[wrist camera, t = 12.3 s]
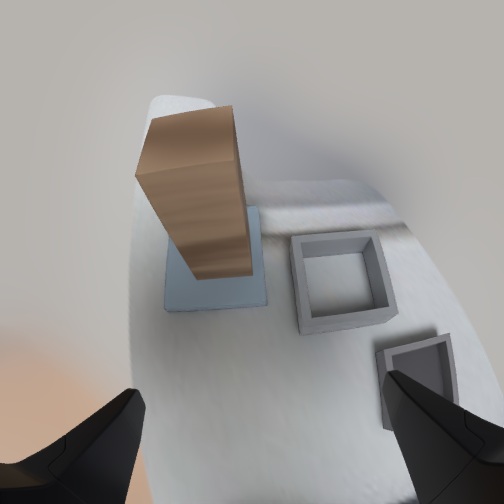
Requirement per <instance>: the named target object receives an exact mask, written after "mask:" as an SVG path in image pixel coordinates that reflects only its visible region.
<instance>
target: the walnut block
mask: <svg viewBox="0 0 504 504" xmlns="http://www.w3.org/2000/svg"><path fill="white" fill-rule="evenodd" d="M135 177H136V178H137V180H138V182H139V184H140V186H141V187H142V189H143V191H144V193H145V195H146V196H147V198H148V200H149V202H150V204H151V205H152V207H153V209H154V211H155V212H156V214H157V216H158V217H159V219H160V221H161V223H162V224H163V226H164V228H165V229H166V231H167V233H168V234H169V236H170V238H171V239H172V241H173V243H174V244H175V246H176V248H177V249H178V251H179V253H180V254H181V256H182V257H183V259H184V261H185V262H186V264H187V265H188V267H189V269H190V270H191V272H192V273H193V275H194V276H195V278H196V280H208V279H220V278H232V277H243V276H253V268H252V254H251V241H250V228H249V221H248V214H247V207H246V200H245V193H244V186H243V179H242V172H241V165H240V158H239V151H238V145H237V137H236V130H235V123H234V116H233V109H232V106H223V107H216V108H209V109H202V110H196V111H190V112H184V113H179V114H174V115H169V116H164V117H159V118H155V119H152V121H151V124H150V127H149V130H148V133H147V136H146V139H145V142H144V146H143V149H142V152H141V156H140V159H139V163H138V166H137V170H136V174H135Z"/></svg>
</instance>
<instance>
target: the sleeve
mask: <svg viewBox="0 0 504 504" xmlns="http://www.w3.org/2000/svg"><path fill="white" fill-rule="evenodd" d="M361 252H363V256H364V260H365V264H366V268H367V272H368V276H369V280H370V285H371V289H372V294H373V298H374V303H375V308H376V309H372V310H366V311H359V312H352V313H345V314H338V315H331V316H323V317H315V318H312V316H311V308H310V301H309V294H308V287H307V280H306V274H305V267H304V261H303V258H309V257H319V256H330V255H341V254H351V253H361ZM290 260H291V267H292V274H293V282H294V290H295V298H296V306H297V314H298V323H299V332H300V335H308V334H316V333H324V332H331V331H339V330H345V329H352V328H358V327H364V326H370V325H376V324H381V323H386V322H387V321H389V320H390V319H391V318H393V317H394V316H396V315H397V314H398V309H397V304H396V300H395V295H394V291H393V287H392V283H391V279H390V275H389V271H388V268H387V264H386V260H385V257H384V253H383V250H382V246H381V243H380V240H379V236H378V233H377V230H376V229H373V230H360V231H347V232H334V233H322V234H310V235H298V236H291V243H290Z"/></svg>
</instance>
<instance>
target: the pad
mask: <svg viewBox="0 0 504 504" xmlns="http://www.w3.org/2000/svg"><path fill="white" fill-rule="evenodd" d="M247 214H248V221H249V228H250V241H251V254H252V268H253V276H243V277H232V278H220V279H208V280H196V278H195V276H194V275H193V273H192V272H191V270H190V269H189V267H188V265H187V264H186V262H185V261H184V259H183V257H182V256H181V254H180V253H179V251H178V249H177V248H176V246H175V244H174V243H173V241H172V239H171V238H170V236H169V243H168V254H167V267H166V281H165V298H164V309H165V310H167V311H168V312H169V311H192V310H211V309H227V308H241V307H254V306H266V305H267V299H266V288H265V276H264V265H263V254H262V243H261V232H260V221H259V211H258V206H249V207H247Z"/></svg>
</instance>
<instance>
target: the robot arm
mask: <svg viewBox="0 0 504 504" xmlns="http://www.w3.org/2000/svg"><path fill="white" fill-rule="evenodd" d="M382 393H383V397H384V401H385V404H386V408H387V412H388V415H389V419H390V423H391V426H392V429H393V431H394V434H395V437H396V439H397V442H398V444H399V447H400V450H401V452H402V455H403V457H404V460H405V463H406V466H407V468H408V471H409V474H410V477H411V480H412V483H413V486H414V488H415V491H416V494H417V497H418V500H419V504H504V428H503V427H500V426H498V425H495V424H493V423H491V422H488V421H486V420H484V419H482V418H480V417H478V416H476V415H474V414H472V413H471V412H469V411H467V410H464V409H463V408H462V407H460V406H458V405H457V404H455V403H453V402H451V401H450V400H448V399H446V398H445V397H443V396H441V395H439V394H438V393H436V392H434V391H433V390H431V389H429V388H428V387H426V386H424V385H423V384H421V383H419V382H417V381H416V380H414V379H412V378H411V377H409V376H408V375H406V374H404V373H403V372H401V371H399V370H397V369H395V370H390V371H387V372H386V374H385V378H384V382H383V385H382ZM145 409H146V407H145V403H144V401H143V398H142V396H141V394H140V392H139V391H138V390H137V389H131V388H128V389H126V390H125V391H123V392H122V393H121V394H119V395H118V396H117V397H115V398H114V399H113V400H112V401H110V402H109V403H107V404H106V405H105V406H103V407H102V408H101V409H99V410H98V411H97V412H95V413H94V414H93V415H91V416H90V417H89V418H87V419H86V420H85V421H83V422H82V423H80V424H79V425H78V426H76V427H75V428H74V429H72V430H71V431H70V432H68V433H67V434H66V435H64V436H62V437H61V438H59V439H58V440H57V441H55V442H54V443H52V444H51V445H49V446H47V447H46V448H44V449H42V450H41V451H39V452H37V453H35V454H33V455H31V456H29V457H27V458H26V459H24V460H22V461H20V462H17V463H13V464H5V463H0V504H125V500H126V496H127V492H128V488H129V483H130V479H131V476H132V472H133V468H134V464H135V460H136V456H137V452H138V449H139V445H140V441H141V435H142V428H143V422H144V415H145Z"/></svg>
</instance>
